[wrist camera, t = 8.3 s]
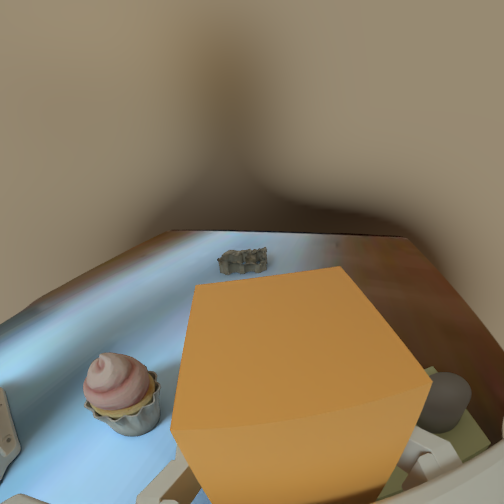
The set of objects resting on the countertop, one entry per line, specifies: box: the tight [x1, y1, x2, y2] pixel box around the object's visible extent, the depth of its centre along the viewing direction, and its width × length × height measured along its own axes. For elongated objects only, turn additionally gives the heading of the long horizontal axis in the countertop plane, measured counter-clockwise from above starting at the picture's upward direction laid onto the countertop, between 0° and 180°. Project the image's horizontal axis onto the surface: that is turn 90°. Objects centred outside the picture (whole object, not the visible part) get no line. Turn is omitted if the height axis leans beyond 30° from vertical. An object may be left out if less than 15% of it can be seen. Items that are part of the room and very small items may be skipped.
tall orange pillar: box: [170, 266, 433, 504], centre depth 10 cm, size 6×5×12 cm
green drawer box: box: [375, 366, 491, 502], centre depth 21 cm, size 12×22×7 cm, turn 95°
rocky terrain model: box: [217, 247, 267, 275], centre depth 68 cm, size 11×8×4 cm
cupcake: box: [83, 353, 161, 436], centre depth 28 cm, size 9×9×10 cm
